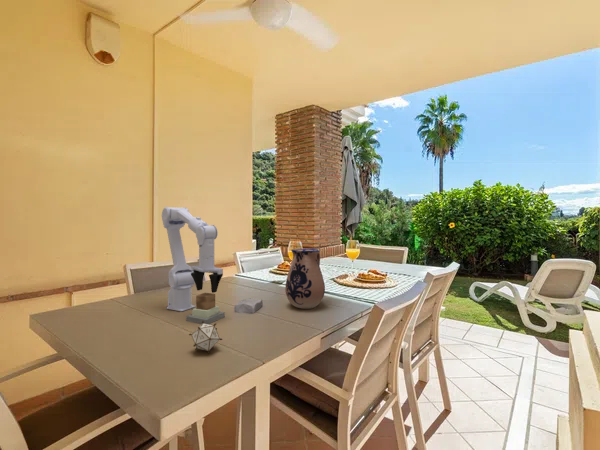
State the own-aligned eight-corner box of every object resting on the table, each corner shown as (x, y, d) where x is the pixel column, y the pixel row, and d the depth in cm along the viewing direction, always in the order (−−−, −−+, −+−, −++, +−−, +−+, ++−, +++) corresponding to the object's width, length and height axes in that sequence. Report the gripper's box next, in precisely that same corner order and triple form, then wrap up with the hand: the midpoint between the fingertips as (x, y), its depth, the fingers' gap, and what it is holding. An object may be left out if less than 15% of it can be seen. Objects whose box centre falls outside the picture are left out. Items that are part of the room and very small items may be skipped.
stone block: (233, 317, 124) (256, 313, 122) (231, 305, 124) (253, 302, 122) (243, 309, 135) (264, 306, 133) (241, 299, 135) (262, 295, 134)
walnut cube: (196, 308, 114) (196, 295, 114) (204, 305, 119) (204, 292, 119) (206, 310, 112) (206, 296, 112) (215, 306, 117) (215, 293, 117)
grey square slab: (186, 322, 113) (186, 316, 113) (205, 315, 122) (205, 308, 122) (206, 326, 109) (206, 320, 109) (224, 318, 118) (224, 312, 118)
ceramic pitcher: (278, 309, 128) (278, 250, 127) (297, 297, 147) (297, 246, 147) (317, 314, 121) (317, 252, 121) (332, 301, 141) (332, 247, 140)
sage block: (192, 315, 114) (192, 309, 114) (204, 310, 120) (204, 304, 120) (207, 318, 111) (207, 311, 111) (219, 312, 117) (219, 306, 117)
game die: (201, 361, 89) (195, 328, 94) (228, 350, 90) (221, 318, 94) (187, 358, 81) (182, 323, 86) (217, 346, 82) (210, 311, 87)
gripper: (185, 256, 116) (185, 291, 117) (213, 258, 110) (213, 295, 110) (198, 254, 123) (198, 287, 123) (226, 256, 116) (226, 291, 117)
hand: (206, 291), depth 117 cm, fingers open, 7 cm apart
